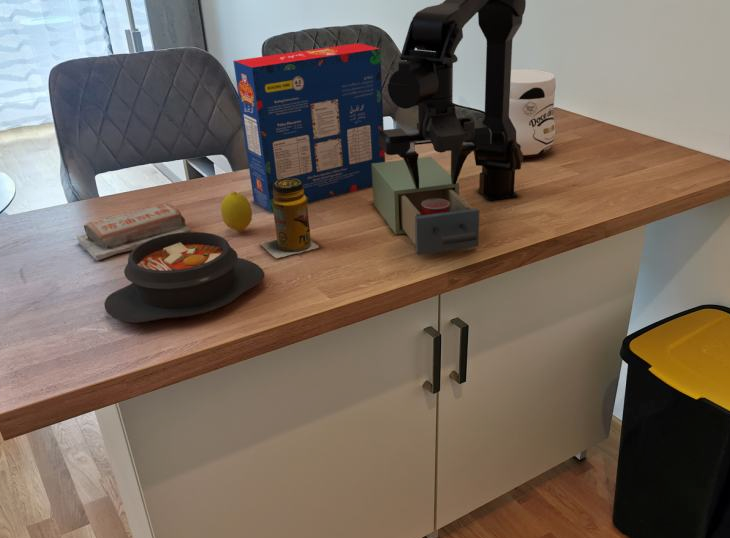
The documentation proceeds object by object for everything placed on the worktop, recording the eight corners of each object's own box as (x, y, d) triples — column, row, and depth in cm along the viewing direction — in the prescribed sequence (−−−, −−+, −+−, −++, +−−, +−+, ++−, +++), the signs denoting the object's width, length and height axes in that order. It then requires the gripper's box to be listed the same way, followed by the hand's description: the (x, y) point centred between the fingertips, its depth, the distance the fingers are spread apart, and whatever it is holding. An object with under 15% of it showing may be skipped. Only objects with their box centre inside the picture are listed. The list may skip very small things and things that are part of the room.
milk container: (558, 163, 171) (565, 83, 161) (484, 163, 171) (487, 84, 161) (548, 141, 185) (554, 67, 176) (481, 141, 186) (483, 68, 176)
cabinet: (458, 225, 140) (459, 182, 135) (395, 234, 136) (394, 191, 132) (431, 196, 153) (431, 156, 148) (373, 204, 150) (371, 163, 145)
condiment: (319, 248, 132) (313, 184, 125) (276, 259, 128) (267, 194, 121) (302, 234, 137) (295, 172, 130) (260, 245, 133) (251, 182, 127)
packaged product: (166, 196, 141) (188, 211, 135) (170, 219, 144) (192, 235, 137) (70, 220, 131) (89, 237, 125) (77, 244, 134) (96, 262, 128)
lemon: (259, 228, 140) (254, 188, 135) (244, 239, 135) (238, 198, 131) (235, 224, 141) (228, 185, 137) (219, 235, 137) (212, 195, 133)
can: (453, 233, 132) (453, 206, 129) (426, 237, 130) (426, 210, 127) (444, 223, 136) (444, 196, 133) (418, 226, 134) (417, 200, 132)
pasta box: (366, 173, 166) (358, 43, 151) (385, 182, 160) (380, 48, 146) (253, 201, 152) (233, 60, 137) (271, 212, 146) (251, 67, 131)
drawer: (490, 259, 125) (492, 222, 121) (427, 269, 122) (427, 231, 118) (449, 215, 142) (449, 181, 138) (393, 222, 139) (391, 188, 135)
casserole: (133, 349, 103) (119, 297, 99) (90, 301, 115) (76, 253, 111) (287, 295, 116) (281, 247, 112) (234, 257, 129) (226, 212, 124)
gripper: (394, 111, 111) (397, 208, 119) (506, 101, 116) (502, 195, 124) (375, 95, 120) (379, 186, 128) (481, 86, 125) (478, 174, 133)
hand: (435, 186), depth 128 cm, fingers open, 6 cm apart
